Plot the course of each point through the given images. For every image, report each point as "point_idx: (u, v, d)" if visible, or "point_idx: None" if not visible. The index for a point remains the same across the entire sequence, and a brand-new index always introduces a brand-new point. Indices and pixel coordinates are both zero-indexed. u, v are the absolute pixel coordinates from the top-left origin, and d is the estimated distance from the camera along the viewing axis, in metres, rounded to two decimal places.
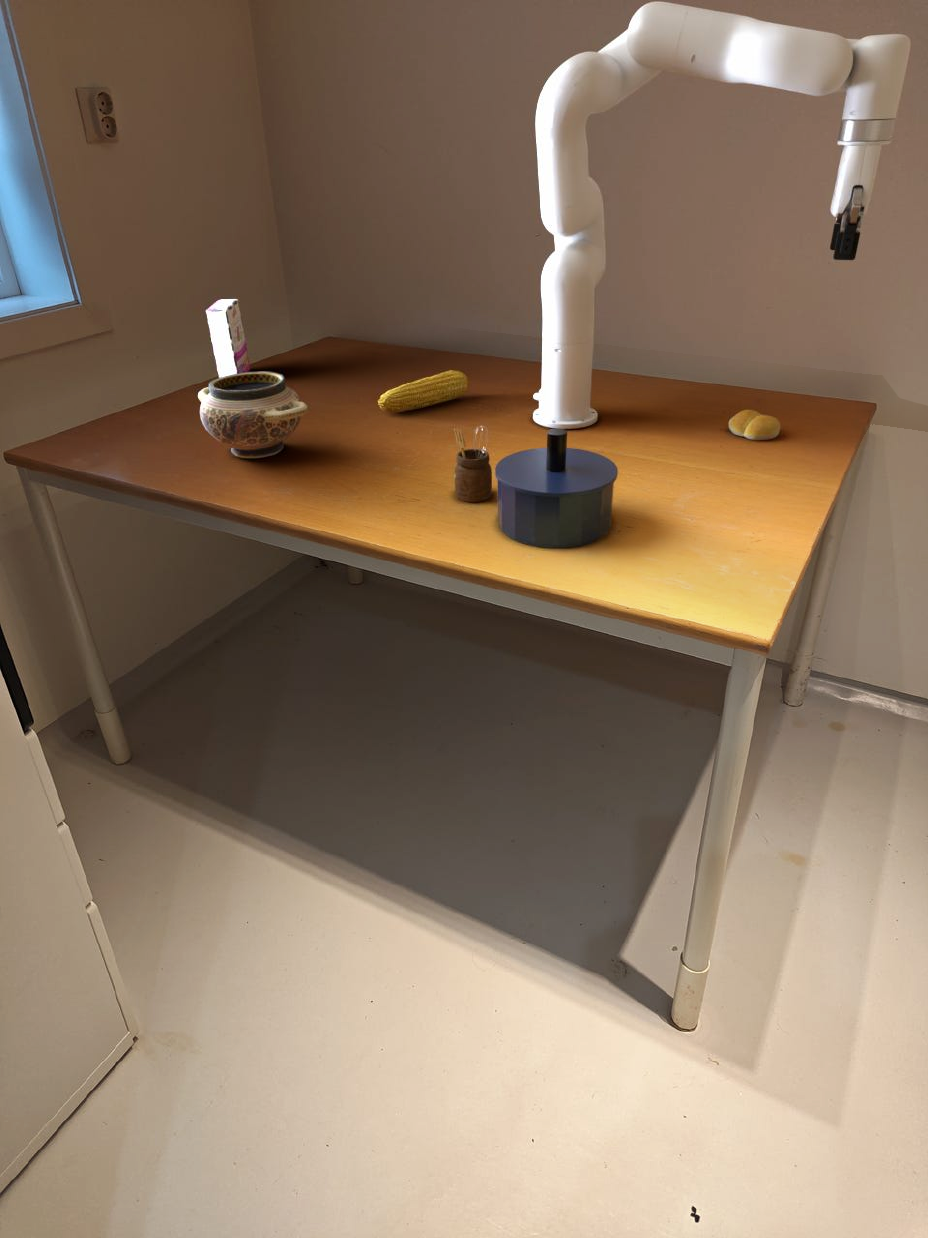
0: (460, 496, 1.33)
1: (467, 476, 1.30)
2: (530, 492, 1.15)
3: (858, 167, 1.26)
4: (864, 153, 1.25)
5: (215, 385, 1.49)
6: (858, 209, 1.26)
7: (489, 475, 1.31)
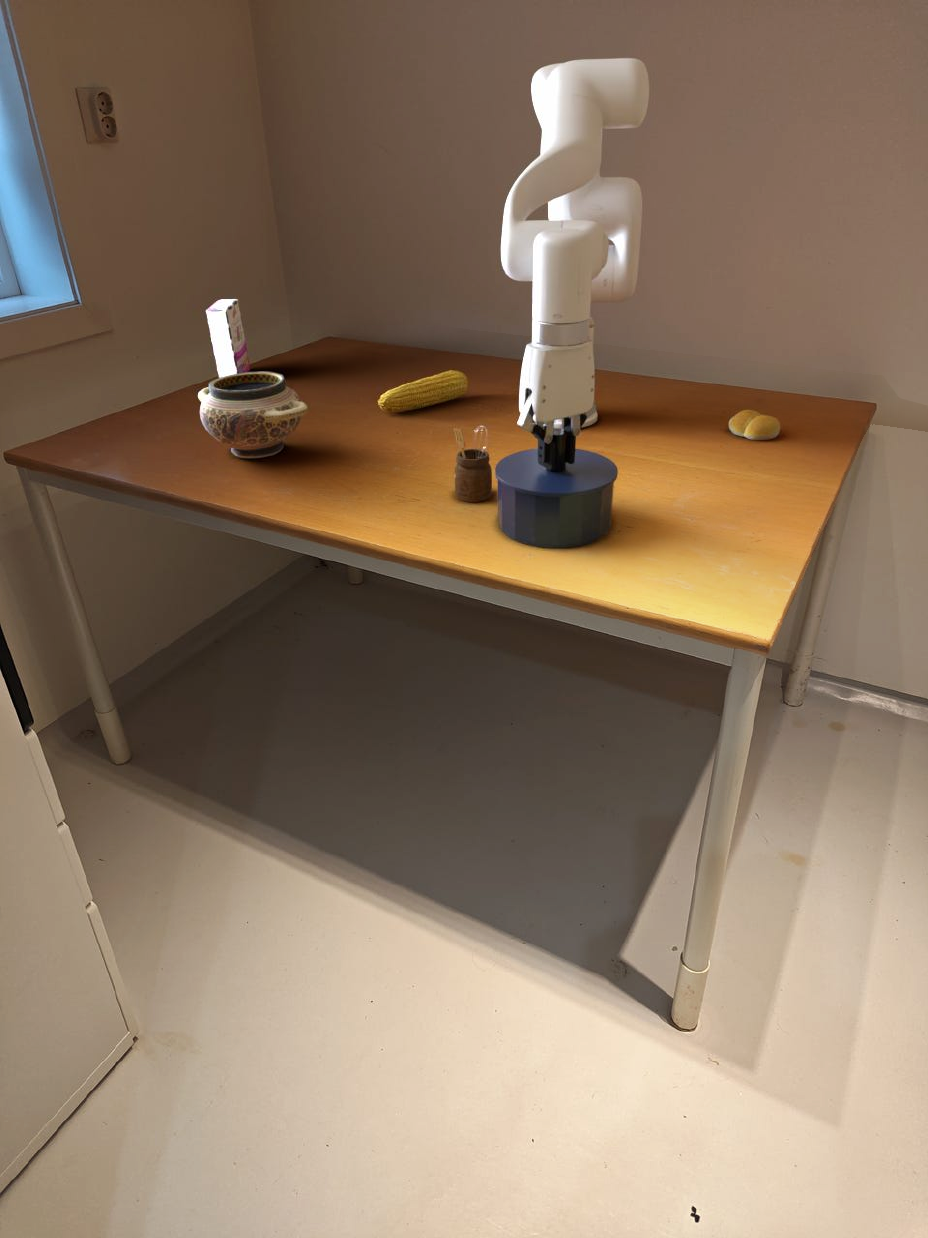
0: (460, 496, 1.33)
1: (467, 476, 1.30)
2: (530, 492, 1.15)
3: (527, 370, 1.11)
4: (531, 356, 1.10)
5: (215, 385, 1.49)
6: (524, 429, 1.14)
7: (489, 475, 1.31)
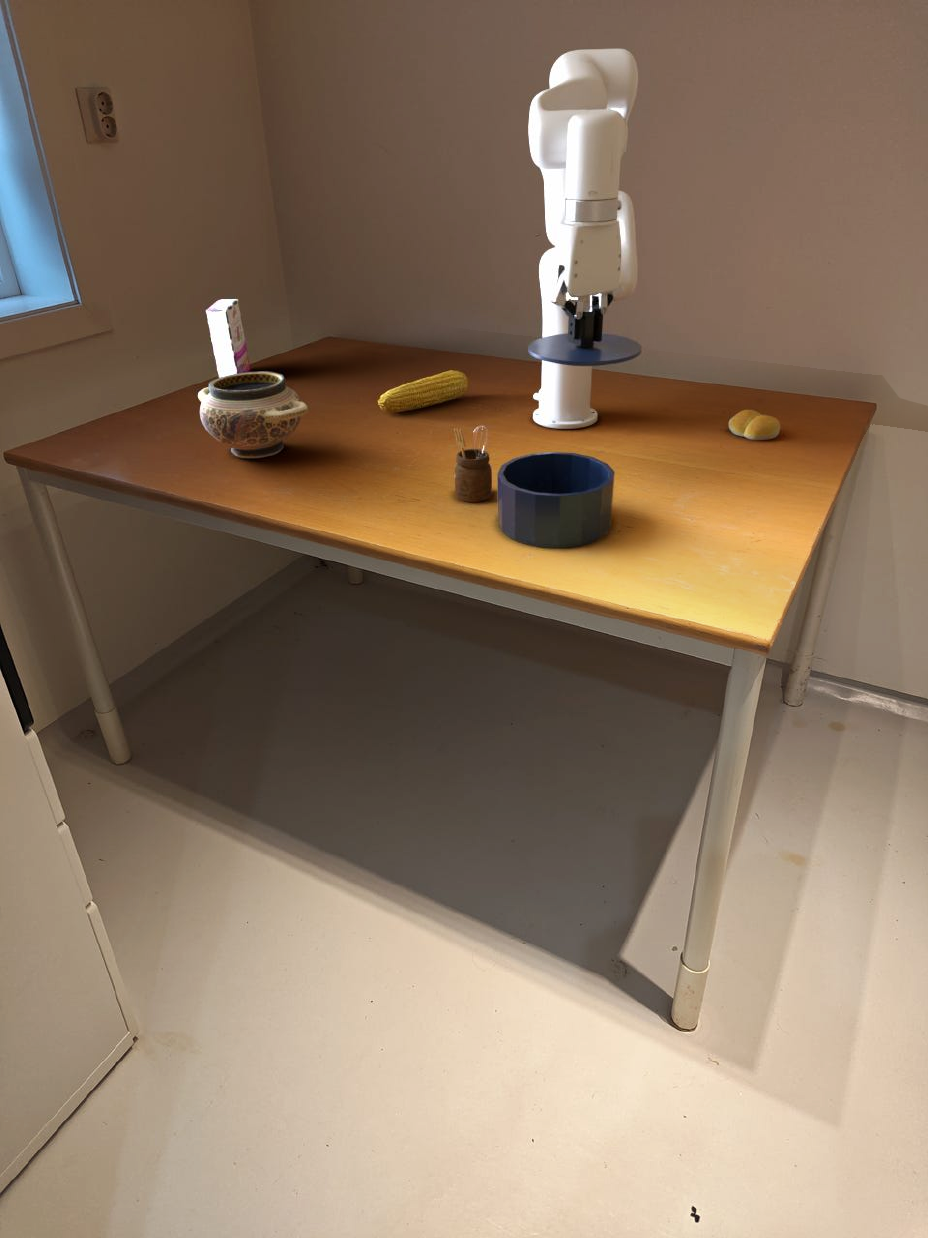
0: (460, 496, 1.33)
1: (467, 476, 1.30)
2: (562, 362, 1.25)
3: (560, 246, 1.22)
4: (565, 233, 1.21)
5: (215, 385, 1.49)
6: (556, 304, 1.25)
7: (489, 475, 1.31)
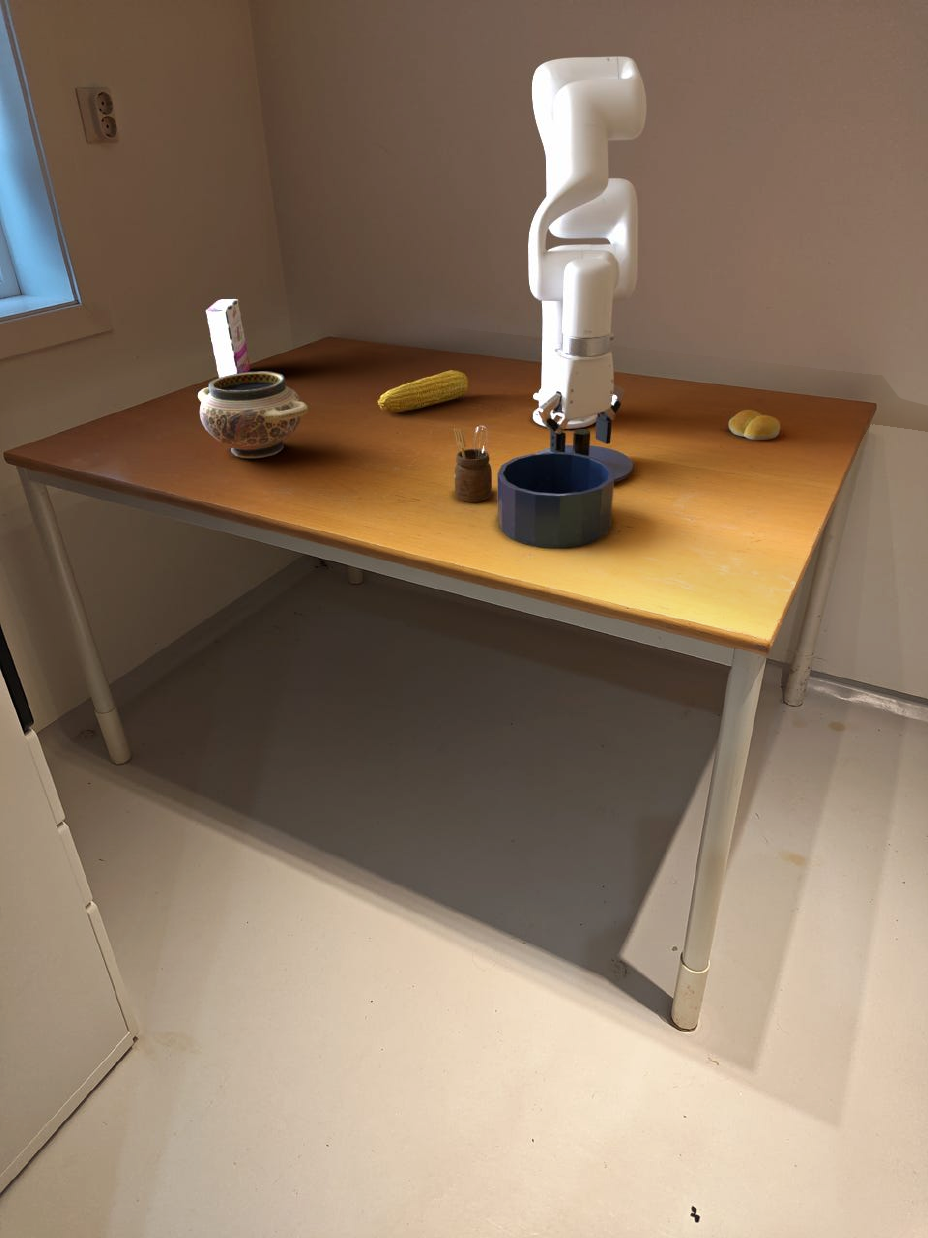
0: (460, 496, 1.33)
1: (467, 476, 1.30)
2: None
3: (558, 376, 1.33)
4: (561, 365, 1.32)
5: (215, 385, 1.49)
6: (542, 414, 1.34)
7: (489, 475, 1.31)
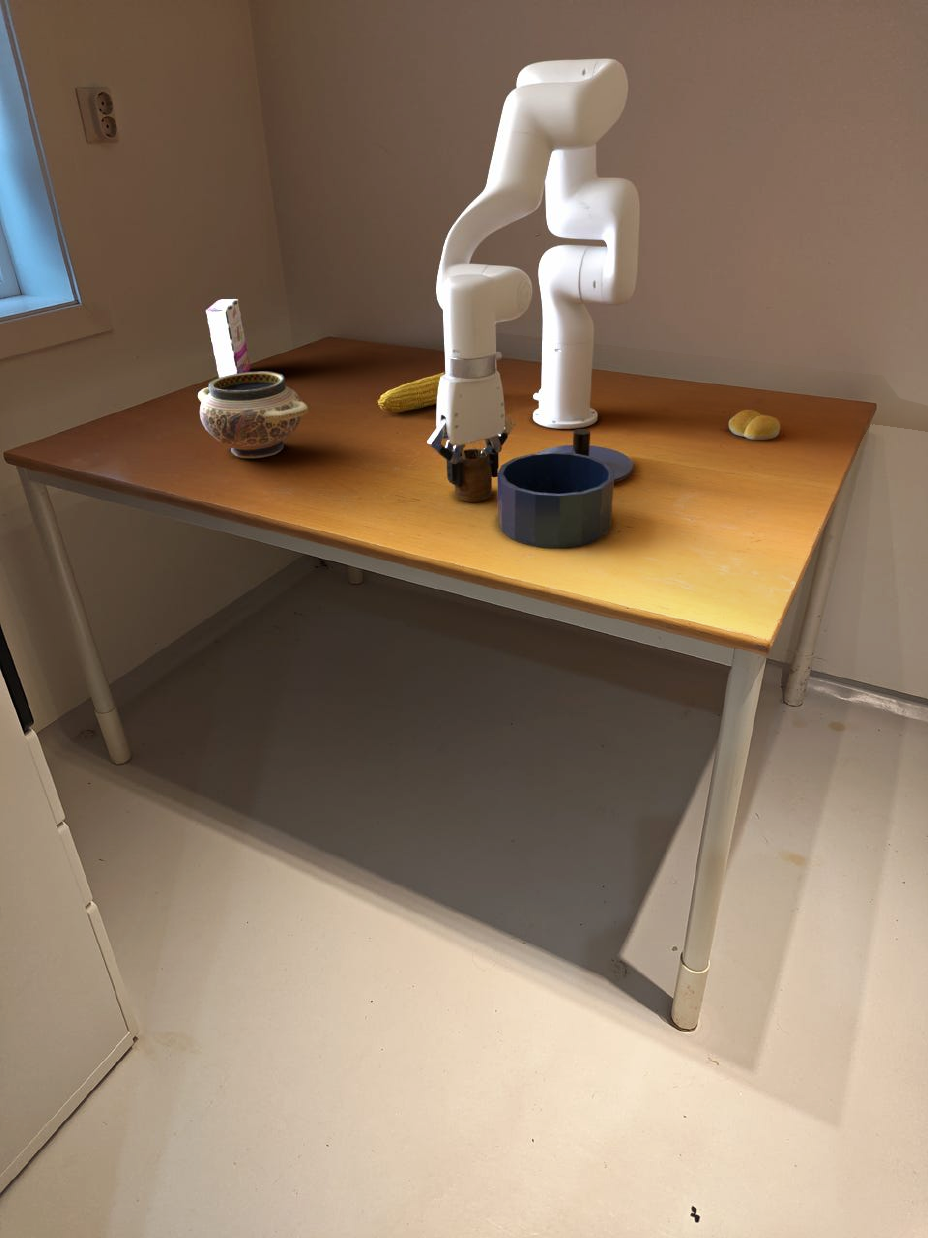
0: (460, 496, 1.33)
1: (467, 476, 1.30)
2: None
3: (441, 399, 1.24)
4: (444, 387, 1.23)
5: (215, 385, 1.49)
6: (432, 447, 1.26)
7: (489, 475, 1.31)
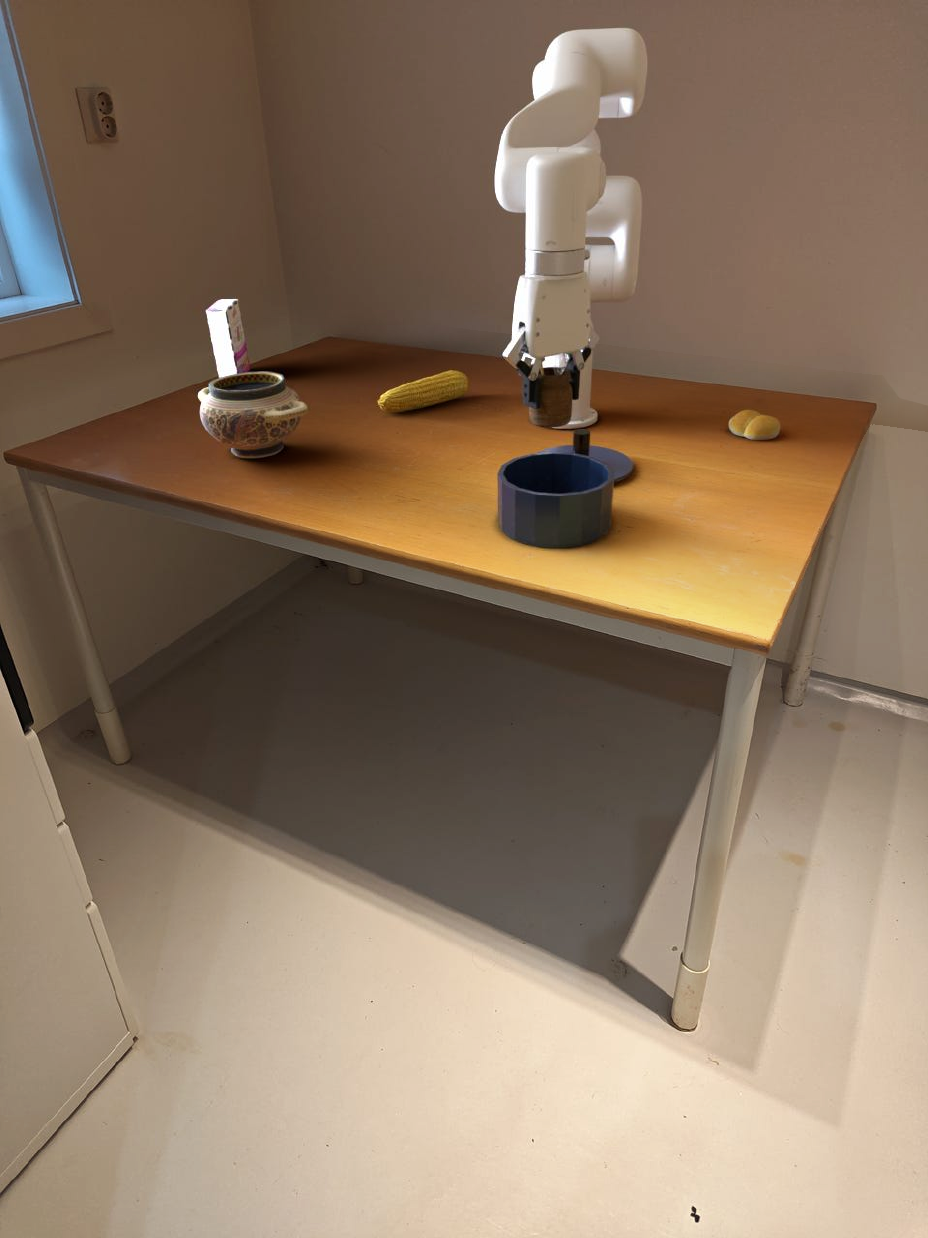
0: (536, 421, 1.16)
1: (546, 396, 1.14)
2: None
3: (520, 302, 1.08)
4: (525, 287, 1.06)
5: (215, 385, 1.49)
6: (508, 360, 1.10)
7: (570, 396, 1.15)
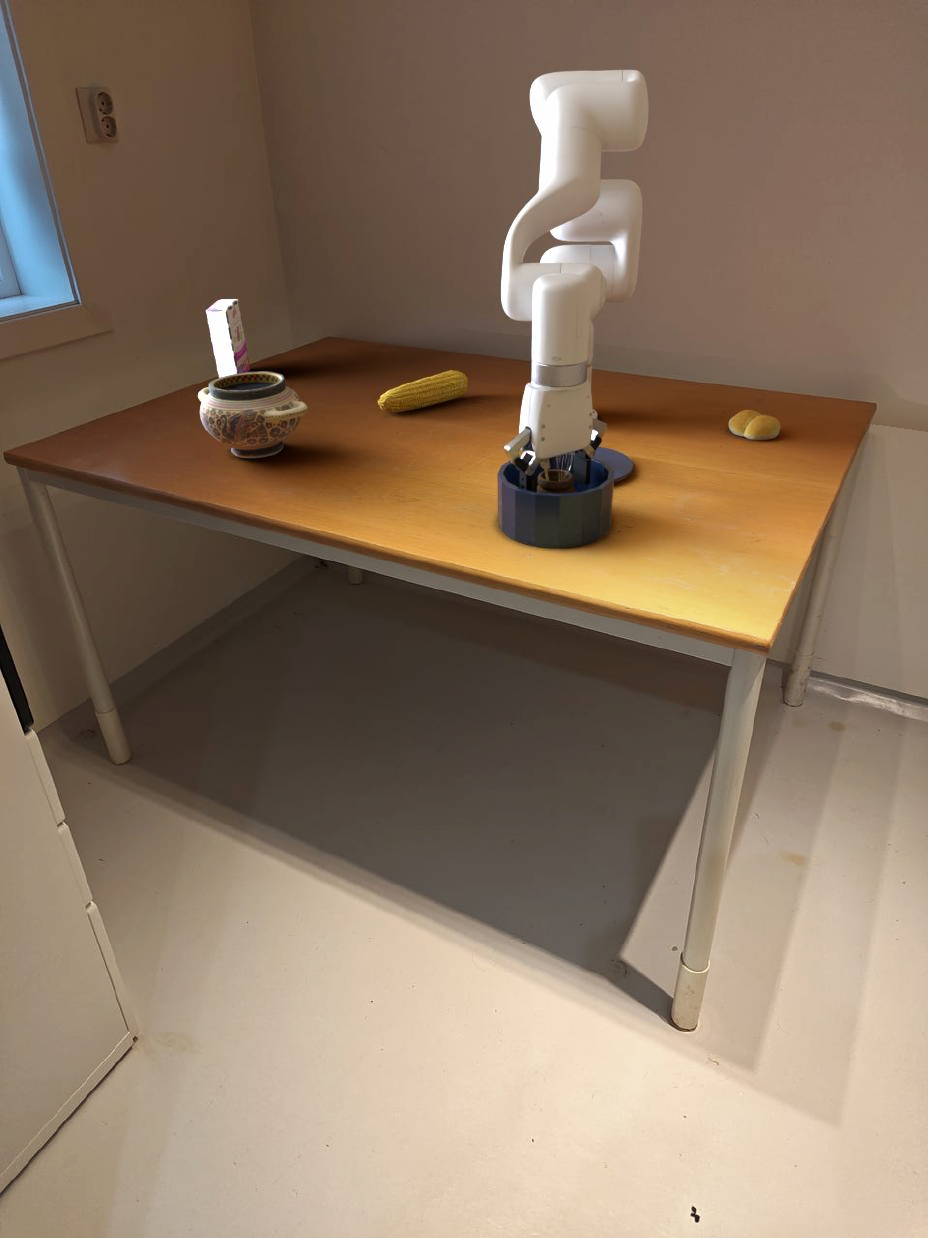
0: None
1: None
2: None
3: (527, 409, 1.14)
4: (531, 396, 1.13)
5: (215, 385, 1.49)
6: (508, 453, 1.15)
7: None
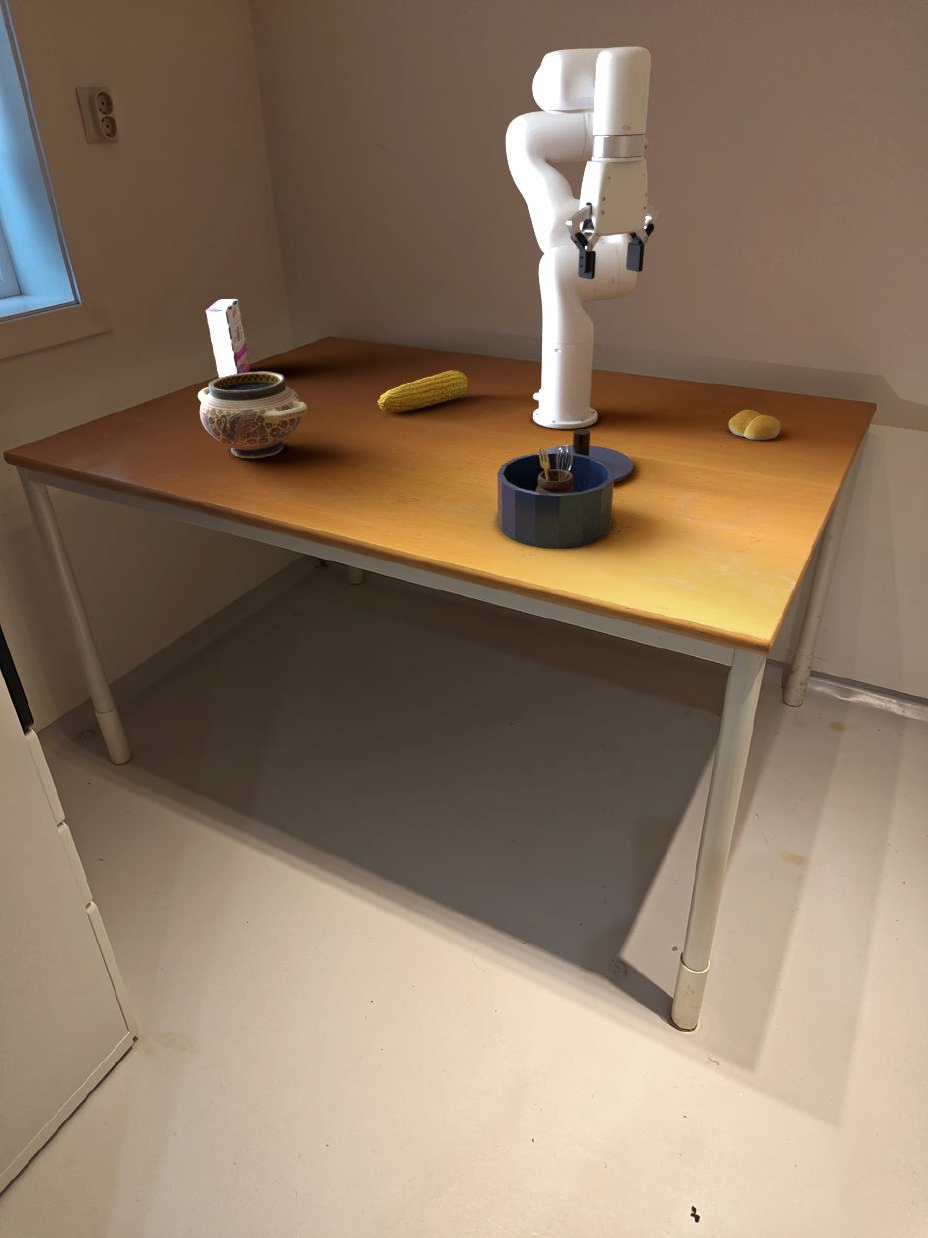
0: None
1: None
2: None
3: (588, 184, 1.23)
4: (592, 170, 1.22)
5: (215, 385, 1.49)
6: (571, 226, 1.23)
7: None
